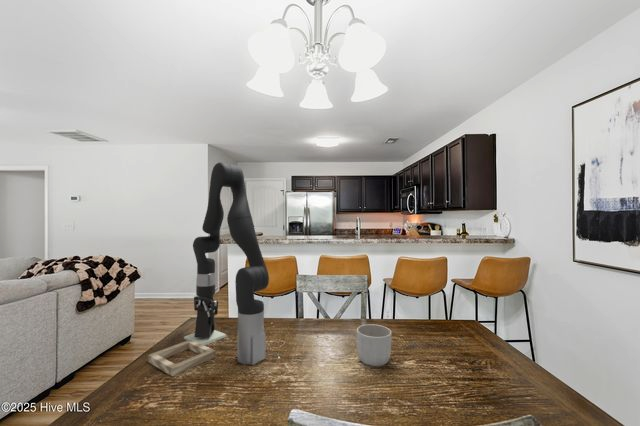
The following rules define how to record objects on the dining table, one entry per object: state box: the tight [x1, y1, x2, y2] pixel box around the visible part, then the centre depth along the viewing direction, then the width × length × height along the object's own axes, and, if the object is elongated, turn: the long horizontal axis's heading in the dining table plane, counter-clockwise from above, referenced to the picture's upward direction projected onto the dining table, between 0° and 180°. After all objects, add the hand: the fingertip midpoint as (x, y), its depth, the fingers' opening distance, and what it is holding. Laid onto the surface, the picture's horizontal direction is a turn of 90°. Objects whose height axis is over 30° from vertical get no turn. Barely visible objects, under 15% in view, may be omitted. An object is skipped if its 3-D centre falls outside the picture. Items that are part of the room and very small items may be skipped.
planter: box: [356, 323, 393, 367], centre depth 107 cm, size 12×12×11 cm
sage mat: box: [183, 329, 227, 346], centre depth 125 cm, size 12×12×1 cm
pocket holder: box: [147, 340, 216, 377], centre depth 107 cm, size 16×16×2 cm
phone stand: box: [194, 305, 216, 337], centre depth 125 cm, size 9×6×12 cm, turn 5°
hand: (205, 323), depth 125 cm, fingers closed on phone stand, 6 cm apart
